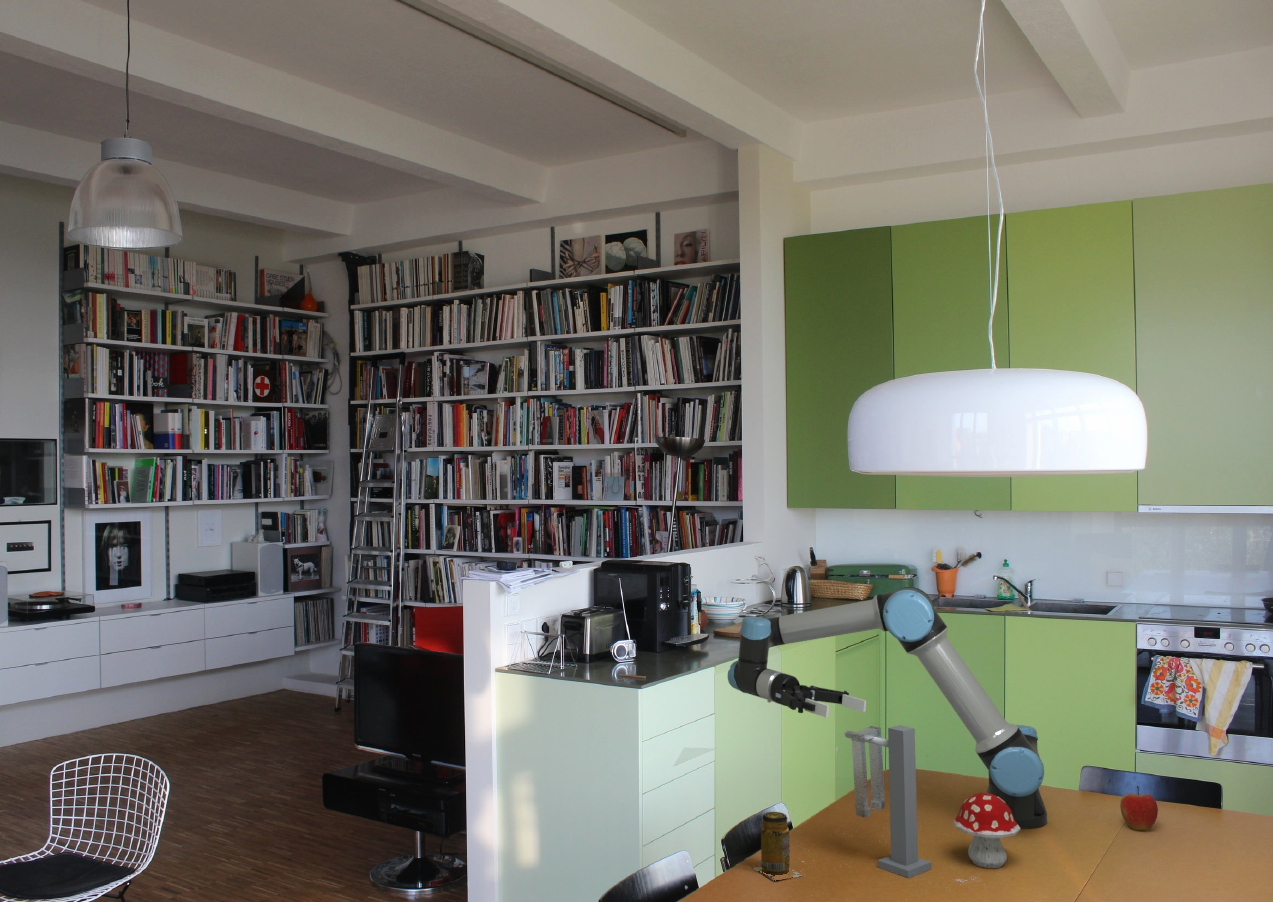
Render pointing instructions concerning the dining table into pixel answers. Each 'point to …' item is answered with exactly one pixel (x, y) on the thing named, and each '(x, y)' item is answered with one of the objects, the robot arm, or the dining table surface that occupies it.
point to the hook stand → (901, 803)
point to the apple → (1139, 811)
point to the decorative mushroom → (986, 828)
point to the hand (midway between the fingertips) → (846, 708)
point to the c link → (861, 772)
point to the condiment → (775, 845)
